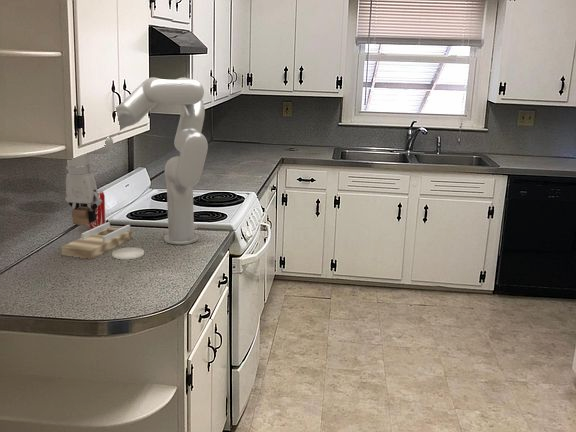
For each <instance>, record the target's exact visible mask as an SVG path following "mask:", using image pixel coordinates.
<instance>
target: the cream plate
mask: <svg viewBox="0 0 576 432" xmlns="http://www.w3.org/2000/svg"><path fill="white" fill-rule="evenodd" d="M144 255H145V250H144V249H142V248H140V247H129V246H128V247H123V248H117V249H115V250H113V251H112V252H111V257H112V256H113V257H114V258H113V257H112V258H113V259H115V258H116V259H115V260H119V259H120V260H122V261H129V260H130V259H131V260H135V259H136V258H137V259H139V258H143V256H144Z"/></svg>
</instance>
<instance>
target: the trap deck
mask: <svg viewBox="0 0 576 432" xmlns="http://www.w3.org/2000/svg"><path fill="white" fill-rule="evenodd" d="M80 235H81V236H80V238H77V239H75V240H73V241H71V242H69V243H67V244H63V245H62V246H61V255H62V256H65V257H72V256H73V257H74V258H79V257H80V258H81V259H86V258H88V259H87V260H92V258H93V259H94V257H95V258H97V257H98V256H100V255H103V254H105V253H106V252H108V251H110V250H112V249H114V248H116V247H118V246H120V245H122V244H124V243H126V242H128V241H130V240H132V239H133V238H134V232H133V229H131V225H130V224H126V225H124V226H122V227H120V228H116V227H111V223H110V222H109V221H108V222H105V224H102V225H100V226H98V227H95V228H93V229H89V230H87V231H84V232H83V233H81V234H80Z"/></svg>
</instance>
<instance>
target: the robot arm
mask: <svg viewBox="0 0 576 432" xmlns="http://www.w3.org/2000/svg"><path fill="white" fill-rule="evenodd" d="M204 95H205V89H204V86H203V85H202V83H201V82H200V81H198V80H196V79H193V78H189V77H179V78H178V77H177V78H176V79H164V78H159V77H148V78H147V79H145V80H144V81H143V82H141V84H140V85H139V86H137V88H135V90H133V91H132V92H131V93H130V94H129V95H128V96H127V97H126V98H125V99H124V100H123V101H122V102H120V104H119V105H117V106H115V108H116V111H117V116H118V121H119V125H120V131H122V130H123V129H125V128H127V127H130V126H134V125H135V124H139V122H140V121H141V120H142V119H143V118H144V117H145V116H147V114H148V113H149V112H150V111H151V110H152V109H154V107H155V106H157V105H168V106H173V105H177V106H179V105H180V115H179V116H180V117H179V121H178V124H177V128H176V134H175V137H174V141H173V143H174V148H175V149H176V150H177V151H178V152H179V156H172V157H170V159H168V160H167V162H166V164H165V166H164V178H165V184H166V185H165V186H166V198H167V199H166V201H167V205H166V206H167V227H168V229H167V230H168V234H166V235H165V236H164V238H163V239H164V242H165V243H167V244H170V245H189V244H193V243H196V242H197V241H199V235H198V234H196V233H195V230H196V229H198V227H199V225H198V224H196V223H195V222H194V221H195V220H194V218H195V217H194V216H195V215H194V214H195V213H194V189H193V187H194V186H196V185H197V184H198V183H199V182H200V180H201V177H202V174H203V170H204V166H205V163H206V159H207V154H208V150H209V149H208V148H209V146H208V145H209V143H208V140H207V138H206V136H205V135H204V134H203V133H202V132H203V131H202V130H203V125H204V121H205V114H206V112H205V111H206V110H205V104H204V101H203V98H204ZM105 144H106V145H104V146H105V147H102V148H100V149H98V150H95V151H93V152H90V153H87V154H85V155H82V156H79V157H77V158H75V159H72V160H67V159H66V162H67V165H66V166H65V169H66V170H67V171H68V173H66V178H65V189H66V190H65V192H66V193H65V194H66V196H65V198H64V201H66V202H67V204H69V206H70V208H71V210H73V209H76V208H78V207H80V206H81V205H87V206H86V207H88V208H89V212H88V216H89V222H90V223H92V222H94V221H96V212H95V210H96V209H97V207H98V206H99V205H100V204H101V203H102V200H101V199H100V197H99V196H98V192H97V191H98V187H97V182H96V178H95V175H94V173H93V172H92V165H91V164H92V163H91V155H106V154H108V153H109V152H111V151H112V150H113V148H114V141H113V137H112V138H111V137H110V136H108V137H107V138H106V141H105ZM94 201H96V203H95V202H94ZM91 204H92V206H91ZM90 223H89V224H90Z"/></svg>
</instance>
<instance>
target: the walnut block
mask: <svg viewBox="0 0 576 432" xmlns="http://www.w3.org/2000/svg"><path fill="white" fill-rule="evenodd" d="M88 212H89V208H88V206H81V205H80V207H78V208H76V209H71V215H72V216H71V217H72V224H73V225H78V226H79V225H80V226H87V225H90V222H89V216H88Z"/></svg>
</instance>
